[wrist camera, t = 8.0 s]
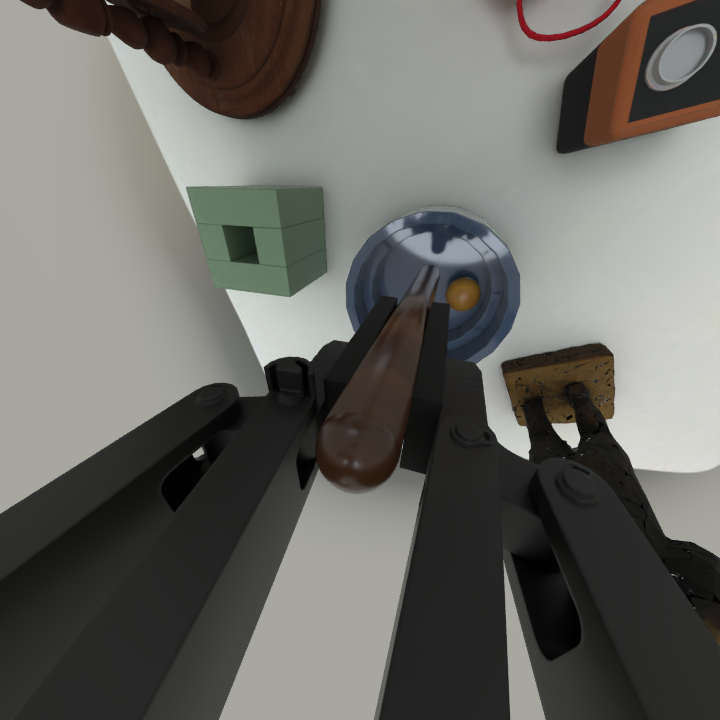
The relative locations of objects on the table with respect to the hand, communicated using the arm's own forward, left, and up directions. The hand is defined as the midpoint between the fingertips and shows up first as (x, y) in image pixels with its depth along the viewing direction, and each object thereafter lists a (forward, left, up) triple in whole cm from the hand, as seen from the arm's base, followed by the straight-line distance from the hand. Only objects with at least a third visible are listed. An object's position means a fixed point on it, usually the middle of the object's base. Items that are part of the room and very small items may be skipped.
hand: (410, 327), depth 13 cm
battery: (-10, +10, -16) cm, 22 cm away
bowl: (+3, 0, -16) cm, 16 cm away
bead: (+3, +3, -14) cm, 15 cm away
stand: (-1, -15, -16) cm, 22 cm away
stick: (0, 0, -10) cm, 10 cm away
